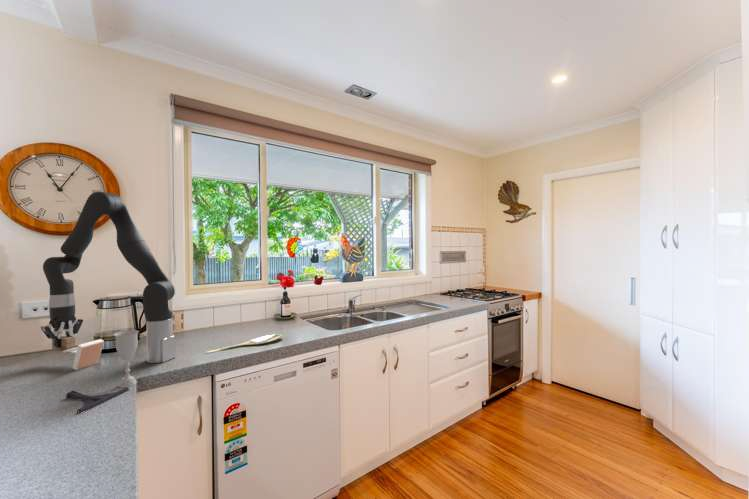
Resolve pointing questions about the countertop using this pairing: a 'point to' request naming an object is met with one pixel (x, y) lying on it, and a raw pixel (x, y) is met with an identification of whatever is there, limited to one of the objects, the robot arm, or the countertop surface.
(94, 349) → the tile
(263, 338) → the spoon
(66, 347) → the turner
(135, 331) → the chalice
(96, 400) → the bracket
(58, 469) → the countertop surface
